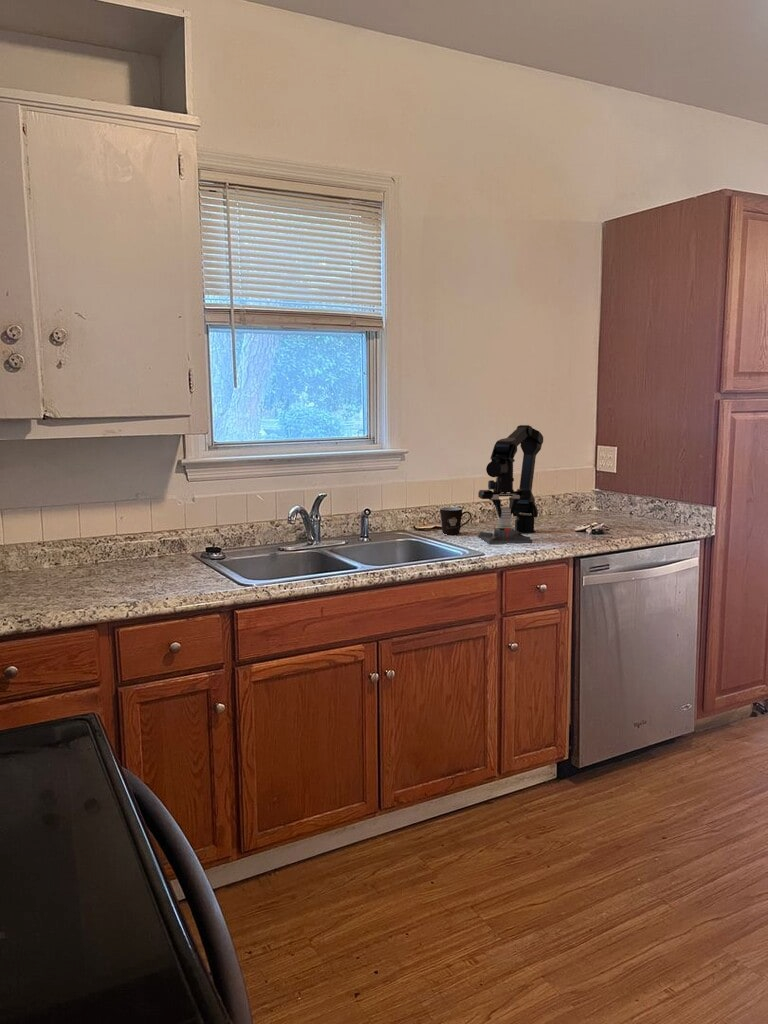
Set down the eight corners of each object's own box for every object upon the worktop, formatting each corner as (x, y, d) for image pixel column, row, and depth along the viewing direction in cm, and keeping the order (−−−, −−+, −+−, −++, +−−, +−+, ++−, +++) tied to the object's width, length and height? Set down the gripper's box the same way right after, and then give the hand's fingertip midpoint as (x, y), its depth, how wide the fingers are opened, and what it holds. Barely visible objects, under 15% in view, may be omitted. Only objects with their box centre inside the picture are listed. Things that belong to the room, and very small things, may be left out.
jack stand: (518, 535, 297) (518, 523, 297) (532, 542, 282) (532, 529, 281) (477, 536, 295) (477, 524, 294) (489, 544, 279) (489, 531, 279)
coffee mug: (437, 535, 299) (437, 509, 297) (443, 532, 307) (443, 506, 305) (467, 537, 295) (467, 510, 293) (472, 533, 303) (472, 507, 302)
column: (507, 525, 290) (507, 507, 289) (510, 527, 286) (510, 508, 285) (498, 526, 289) (498, 507, 288) (501, 527, 286) (501, 508, 285)
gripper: (522, 472, 294) (522, 513, 296) (474, 473, 291) (474, 514, 294) (532, 475, 283) (531, 517, 285) (482, 476, 281) (482, 519, 283)
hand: (504, 517), depth 287 cm, fingers closed on column, 4 cm apart
